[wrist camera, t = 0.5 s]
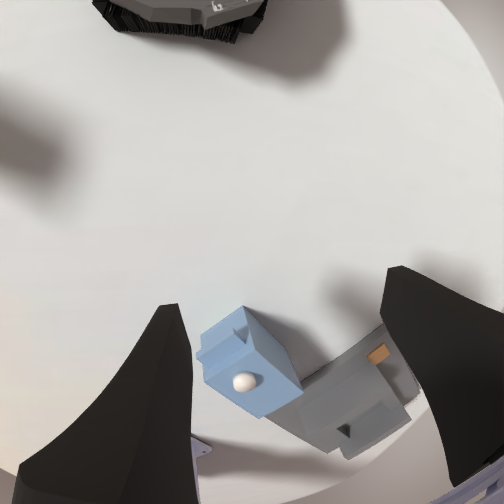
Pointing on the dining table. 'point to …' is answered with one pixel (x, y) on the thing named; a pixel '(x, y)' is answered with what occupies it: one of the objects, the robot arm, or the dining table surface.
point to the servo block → (248, 364)
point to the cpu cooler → (184, 16)
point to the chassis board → (352, 398)
